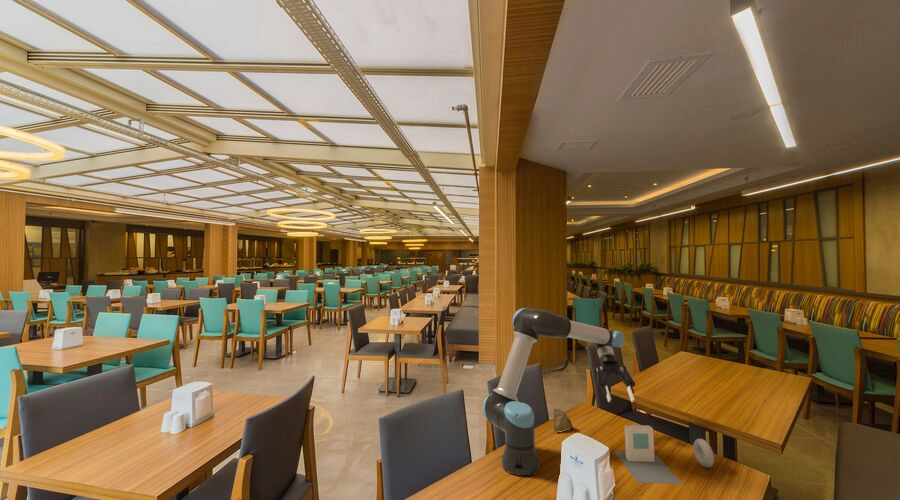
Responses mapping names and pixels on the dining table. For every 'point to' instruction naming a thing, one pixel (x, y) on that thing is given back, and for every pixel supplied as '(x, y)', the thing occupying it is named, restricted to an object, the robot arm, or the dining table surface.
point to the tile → (639, 443)
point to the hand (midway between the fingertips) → (621, 400)
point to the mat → (649, 470)
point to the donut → (703, 453)
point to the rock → (561, 421)
